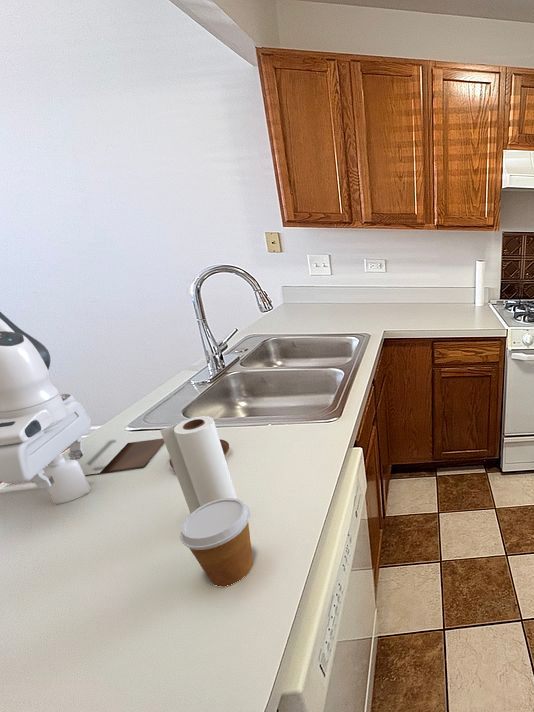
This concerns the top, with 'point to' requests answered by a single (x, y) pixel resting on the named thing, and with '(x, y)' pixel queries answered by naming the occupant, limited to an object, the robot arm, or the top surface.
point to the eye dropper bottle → (66, 480)
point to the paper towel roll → (198, 461)
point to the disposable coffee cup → (220, 540)
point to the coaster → (133, 456)
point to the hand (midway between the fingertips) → (63, 471)
